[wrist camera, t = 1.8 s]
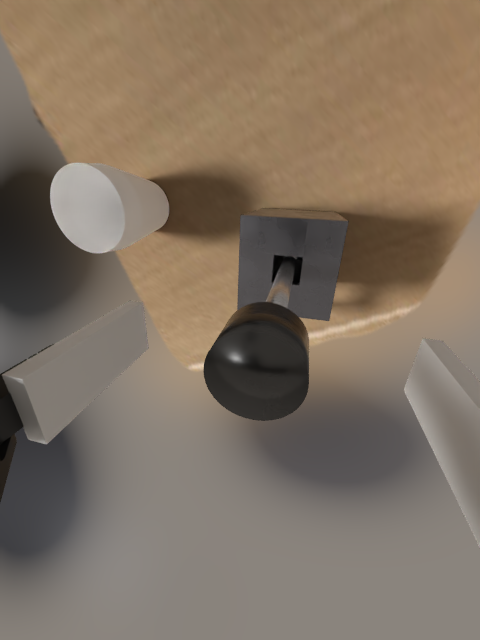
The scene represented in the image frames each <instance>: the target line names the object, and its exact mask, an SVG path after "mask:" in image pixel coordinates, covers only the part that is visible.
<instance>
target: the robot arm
mask: <svg viewBox="0 0 480 640" xmlns="http://www.w3.org/2000/svg"><path fill="white" fill-rule="evenodd" d="M148 348H149V347H148V340H147V331H146V323H145V315H144V307H143V302H137V301H128V302H126V303H125V304H123V305H121V306H119V307H118V308H116V309H114V310H113V311H111V312H109V313H107V314H106V315H104V316H102V317H101V318H99V319H97V320H95V321H94V322H92V323H90V324H88V325H87V326H85V327H83V328H81V329H80V330H79V331H76V332H75V333H73V334H72V335H70V336H68V337H66V338H64V339H63V340H61V341H59V342H57V343H56V344H53V345H50V346H48V347H46V348H45V349H43V350H41V351H40V352H38V354H34V355H33V356H31V357H29V358H28V360H27V359H26V360H24V361H22V362H20V363H19V364H17V365H15V366H13V367H12V368H10V369H8V370H7V371H5V372H3V373H1V374H0V502H1V498H2V495H3V491H4V487H5V484H6V480H7V476H8V472H9V469H10V465H11V462H12V458H13V454H14V451H15V447H16V443H17V440H16V436H15V433H16V432H17V431H18V430H20V429H21V428H22V427H24V430H25V432H26V435H27V437H28V439H29V440H32V441H36V442H40V443H44V444H48V442H50V441H51V440H52V439H53V438H54V437H55V436H56V435H57V434H58V433H59V432H60V431H61V430H62V429H63V428H64V427H65V426H66V425H68V424H69V423H70V422H71V421H72V420H73V419H74V418H75V417H76V416H77V415H78V414H79V413H80V412H81V411H82V410H84V409H85V408H86V407H87V406H88V405H89V404H90V403H91V402H92V401H93V400H94V399H95V398H96V397H97V396H98V395H99V394H101V393H102V392H103V391H104V390H105V389H106V388H107V387H108V386H109V385H110V384H111V383H112V382H113V381H114V380H115V379H116V378H117V377H119V376H120V375H121V373H123V372H124V371H125V370H126V369H127V368H128V367H129V366H130V365H131V364H132V363H133V362H134V361H135V360H137V359H138V358H139V357H140V356H141V355H142V354H143V353H144V352H145V351H146V350H147V349H148ZM404 391H405V394H406V396H407V397H408V400H409V402H410V404H411V406H412V408H413V410H414V412H415V414H416V416H417V418H418V421H419V423H420V424H421V427H422V429H423V431H424V433H425V435H426V437H427V439H428V441H429V443H430V445H431V447H432V449H433V452H434V453H435V456H436V458H437V460H438V462H439V464H440V466H441V468H442V470H443V472H444V474H445V476H446V478H447V481H448V482H449V485H450V487H451V489H452V491H453V493H454V495H455V497H456V499H457V501H458V503H459V505H460V507H461V510H462V512H463V513H464V516H465V518H466V520H467V522H468V524H469V526H470V528H471V530H472V532H473V534H474V536H475V539H476V541H477V543H478V545H479V547H480V381H479V380H478V378H477V377H476V376H475V375H474V374H473V373H472V372H471V371H470V370H469V369H468V368H467V367H466V365H465V364H464V363H463V362H462V361H461V360H460V359H459V358H458V357H457V356H456V355H455V353H454V352H453V351H452V350H451V349H450V348H449V347H448V346H447V345H446V344H445V343H444V341H440V340H433V339H425V338H423V339H422V342H421V344H420V347H419V350H418V352H417V355H416V358H415V361H414V363H413V366H412V369H411V372H410V374H409V377H408V380H407V383H406V385H405V388H404Z"/></svg>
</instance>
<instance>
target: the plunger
mask: <svg viewBox="0 0 480 640" xmlns="http://www.w3.org/2000/svg"><path fill="white" fill-rule="evenodd" d="M302 262H303V257H293V256H281V255H275V259H274V270H273V280H274V283H273V285H272V287H271V290H270V292H269V295H268V297H267V300H266V302H256V303H251V304H248V305H246V306H244V307H242V308H240V309H239V310H237V311H236V312H235V313H234V314H233V315H232V317H231V318H230V319H229V321H228V322H227V324H226V326H225V327H224V329H223V330H222V332H221V333H220V335H219V337H218V338H217V340H216V341H215V343H214V344H213V346H212V348H211V349H210V351H209V352H208V354H207V356H206V359H205V363H204V378H205V381H206V384H207V387H208V389H209V391H210V392H211V394H212V395H213V397H214V398H215V399H216V400H217V401H218V402H219V403H220V404H221V405H222V406H223V407H225V408H226V409H228V410H229V411H231V412H232V413H235V414H237V415H239V416H242V417H245V418H249V419H253V420H262V421H265V420H274V419H279V418H282V417H285V416H287V415H288V414H291V413H292V412H294V411H295V410H296V409H297V408H298V407H299V406H300V405H301V404H302V402H303V401H304V399H305V397H306V395H307V392H308V384H309V337H308V333H307V330H306V327H305V326H304V324H303V322H302V321H301V320H300V318H299V317H298V316H297V315H296V314H295V313H293V312H292V311H291V310H289V309H288V308H287V307H288V302H289V296H290V291H291V286H292V282H300V276H301V269H302Z"/></svg>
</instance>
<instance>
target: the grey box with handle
mask: <svg viewBox="0 0 480 640" xmlns="http://www.w3.org/2000/svg"><path fill="white" fill-rule="evenodd" d="M348 222H349V221H348V220H346V219H345V218H343V217H342V216H341V215H339V214H338V213H336V212H331V211H311V210H291V209H271V208H262V209H259V210H255V211H252V212H249V213H246V214H242V215H241V218H240V248H239V278H238V308H237V310H239V309H240V308H242V307H244V306H246V305H248V304H251V303H256V302H266V300H267V297H268V295H269V292H270V290H271V287H272V285H273V283H274V280H273V270H274V259H275V255H281V256H293V257H303V262H302V269H301V276H300V282H292V286H291V291H290V296H289V302H288V307H287V308H288V309H289V310H291V311H292V312H293V313H295V314H296V315H297V316H298V317H301V318H309V319H317V320H325V321H329V319H330V314H331V309H332V303H333V298H334V293H335V288H336V283H337V278H338V273H339V268H340V263H341V257H342V252H343V247H344V242H345V237H346V232H347V227H348Z"/></svg>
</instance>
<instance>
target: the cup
mask: <svg viewBox="0 0 480 640" xmlns="http://www.w3.org/2000/svg"><path fill="white" fill-rule="evenodd" d="M50 200H51V207H52V211H53V214H54V217H55V219H56V222H57V224H58V225H59V227H60V229H61V230H62V232H63V233H64V234H65V236H66V237H67V238H68V239H69V240H70V241H71V242H72V243H73V244H75V245H76V246H77V247H79V248H81V249H83V250H85V251H88V252H91V253H104V252H109V251H115V250H121V249H124V248H126V247H129V246H130V245H132V244H134V243H136V242H137V241H139V240H141V239H143V238H144V237H146V236H148V235H149V234H151V233H153V232H154V231H156V230H158V229H160V228H161V227H162V226H163V225H164V224H165V223H166V221H167V219H168V216H169V203H168V199H167V197H166V195H165V193H164V191H163V190H162V189H161V188H160V187H159V186H158V185H157V184H155V183H154V182H152V181H149V180H146V179H144V178H141V177H138V176H136V175H133V174H131V173H128V172H125V171H123V170H120V169H117V168H114V167H112V166H109V165H105V164H100V163H71V164H68V165H65V166H64V167H62V168H61V169H60V170H59V171H58V172H57V173H56V175H55V177H54V179H53V181H52V185H51V190H50Z"/></svg>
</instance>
